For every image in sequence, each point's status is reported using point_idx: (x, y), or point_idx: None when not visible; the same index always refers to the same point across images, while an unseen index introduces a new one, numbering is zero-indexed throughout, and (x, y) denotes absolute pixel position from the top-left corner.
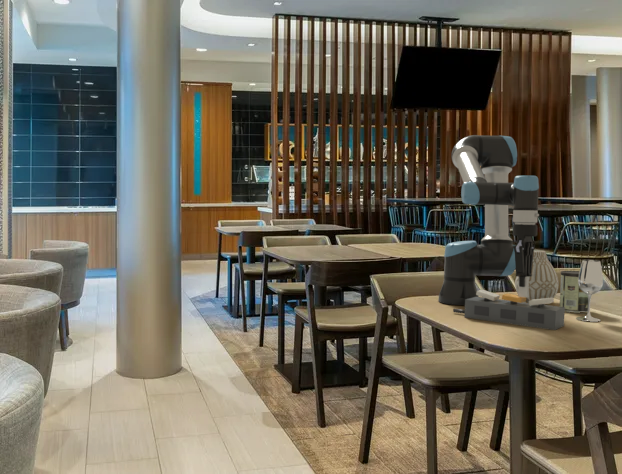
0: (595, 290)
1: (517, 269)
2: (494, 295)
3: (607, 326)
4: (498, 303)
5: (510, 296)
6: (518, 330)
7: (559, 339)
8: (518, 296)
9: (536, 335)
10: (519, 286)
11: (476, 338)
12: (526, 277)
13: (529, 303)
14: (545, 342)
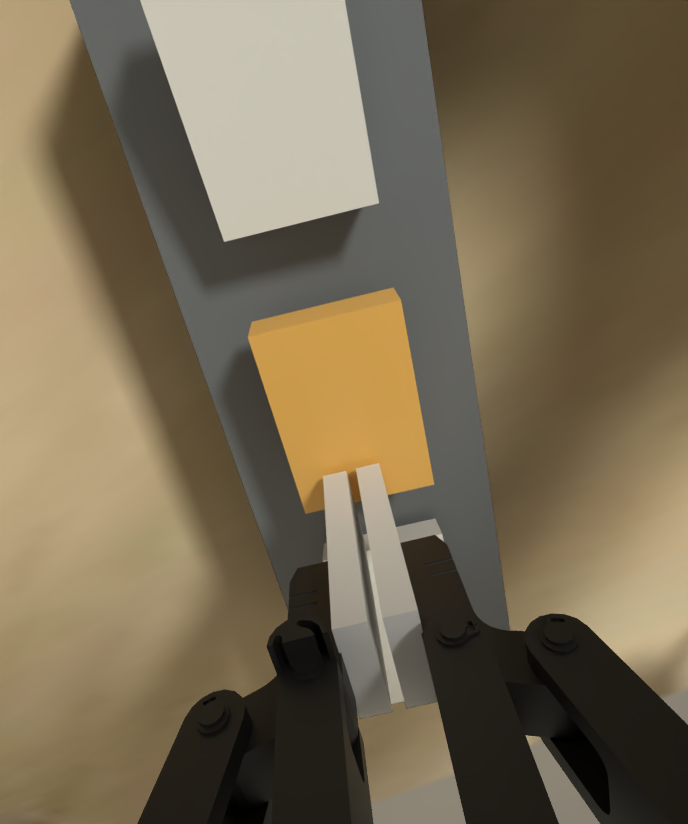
0: None
1: (161, 820)
2: (279, 194)
3: (643, 675)
4: (198, 315)
5: (280, 418)
6: (119, 521)
7: (140, 717)
8: (324, 480)
9: (108, 632)
10: (297, 571)
11: None
12: (358, 711)
13: (323, 552)
14: (20, 721)
